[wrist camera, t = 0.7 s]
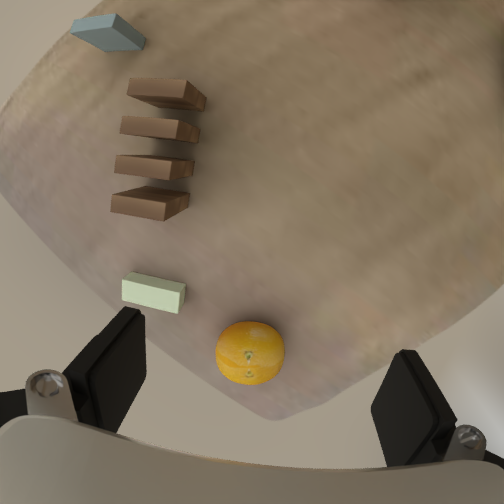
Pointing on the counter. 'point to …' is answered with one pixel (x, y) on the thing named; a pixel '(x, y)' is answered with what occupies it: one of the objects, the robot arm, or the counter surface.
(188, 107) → the domino
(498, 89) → the counter surface
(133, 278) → the block
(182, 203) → the domino
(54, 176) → the counter surface
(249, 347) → the fruit
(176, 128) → the domino
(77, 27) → the domino
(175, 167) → the domino
